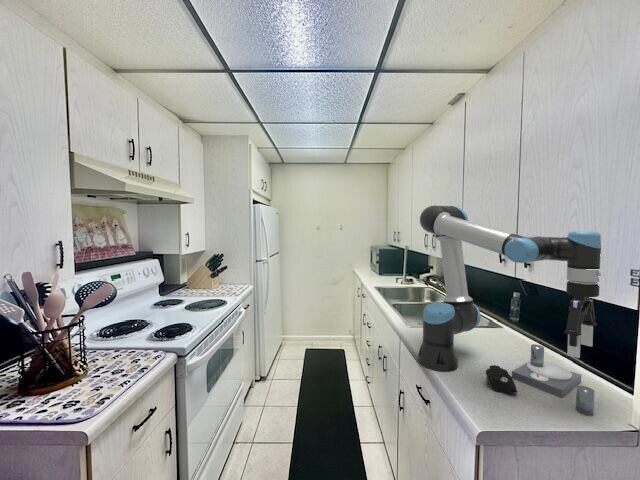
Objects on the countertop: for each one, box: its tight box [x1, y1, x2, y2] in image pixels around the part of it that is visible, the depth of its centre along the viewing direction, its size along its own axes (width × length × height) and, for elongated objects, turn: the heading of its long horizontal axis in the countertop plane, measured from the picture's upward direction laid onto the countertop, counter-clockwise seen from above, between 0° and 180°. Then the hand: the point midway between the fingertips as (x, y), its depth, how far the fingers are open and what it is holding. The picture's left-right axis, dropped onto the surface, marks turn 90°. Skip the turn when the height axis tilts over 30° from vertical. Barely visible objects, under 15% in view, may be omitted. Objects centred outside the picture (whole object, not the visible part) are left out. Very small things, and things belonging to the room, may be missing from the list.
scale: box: [511, 360, 582, 399], centre depth 108 cm, size 18×15×4 cm
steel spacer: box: [575, 385, 595, 417], centre depth 90 cm, size 4×4×7 cm
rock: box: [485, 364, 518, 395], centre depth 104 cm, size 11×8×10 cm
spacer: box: [529, 343, 545, 367], centre depth 112 cm, size 4×4×7 cm
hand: (580, 350), depth 92 cm, fingers open, 13 cm apart
